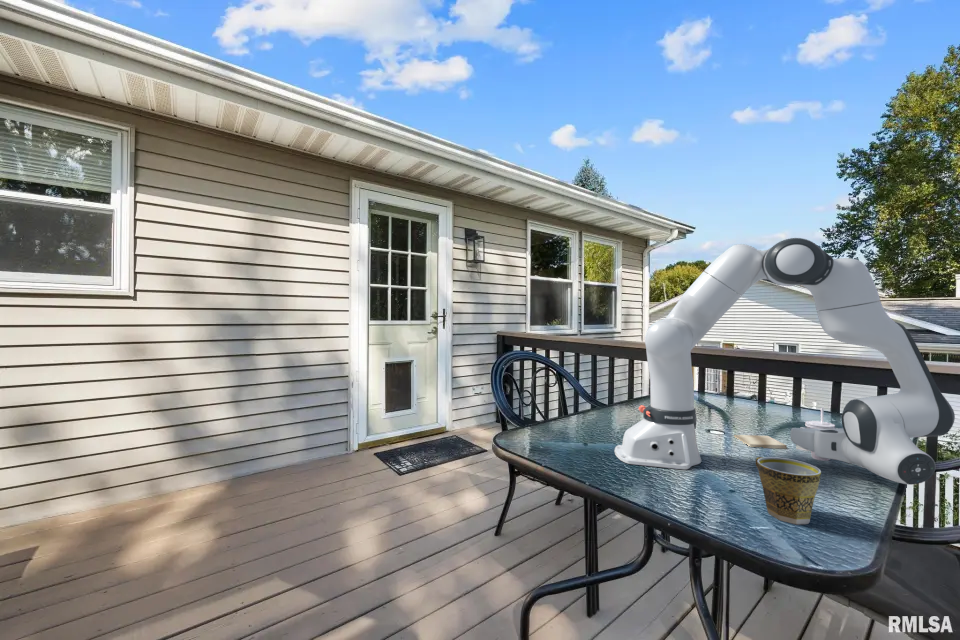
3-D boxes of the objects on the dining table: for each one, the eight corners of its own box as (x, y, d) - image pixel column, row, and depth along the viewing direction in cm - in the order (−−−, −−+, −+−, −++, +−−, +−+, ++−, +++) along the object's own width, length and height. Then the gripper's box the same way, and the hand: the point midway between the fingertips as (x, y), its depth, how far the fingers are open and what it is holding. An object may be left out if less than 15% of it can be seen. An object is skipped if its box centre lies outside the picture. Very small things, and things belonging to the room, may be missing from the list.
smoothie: (841, 463, 107) (841, 410, 107) (814, 461, 108) (813, 410, 108) (826, 455, 113) (825, 405, 113) (800, 453, 114) (799, 405, 114)
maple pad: (750, 447, 120) (750, 444, 120) (734, 437, 130) (734, 434, 130) (786, 448, 119) (786, 445, 119) (767, 438, 129) (767, 435, 129)
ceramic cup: (836, 528, 74) (835, 474, 74) (786, 530, 73) (785, 476, 73) (778, 497, 87) (778, 451, 87) (735, 499, 86) (734, 453, 86)
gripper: (905, 434, 96) (859, 420, 110) (811, 431, 99) (778, 418, 113) (905, 460, 96) (859, 442, 110) (811, 457, 99) (778, 440, 113)
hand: (817, 430), depth 111 cm, fingers closed on smoothie, 6 cm apart
